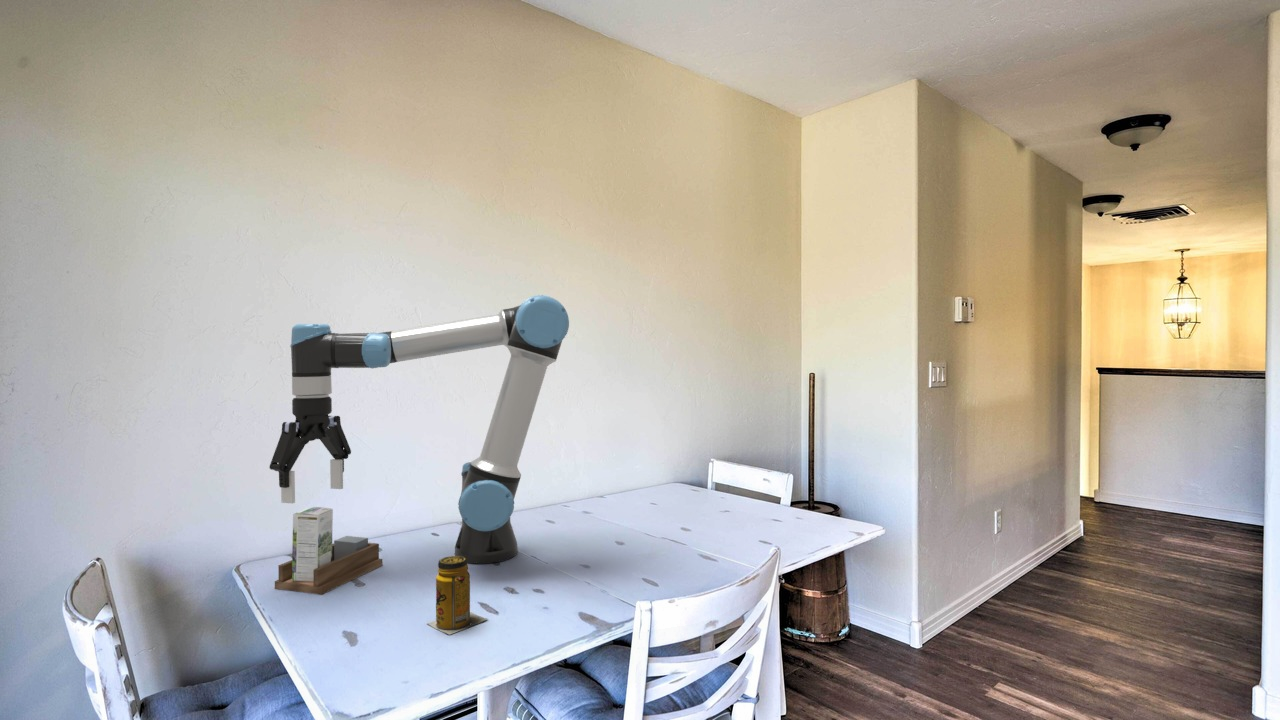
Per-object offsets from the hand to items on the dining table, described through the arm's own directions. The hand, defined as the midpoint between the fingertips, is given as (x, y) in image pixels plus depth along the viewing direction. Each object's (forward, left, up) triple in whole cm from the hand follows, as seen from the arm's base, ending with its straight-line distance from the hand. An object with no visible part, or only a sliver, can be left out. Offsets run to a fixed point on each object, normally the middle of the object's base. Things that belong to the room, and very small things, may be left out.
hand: (313, 495), depth 138 cm
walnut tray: (0, -5, -19) cm, 20 cm away
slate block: (0, -12, -18) cm, 21 cm away
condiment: (-40, +8, -20) cm, 45 cm away
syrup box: (0, 0, -18) cm, 18 cm away
